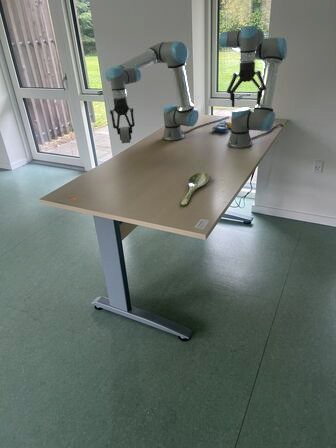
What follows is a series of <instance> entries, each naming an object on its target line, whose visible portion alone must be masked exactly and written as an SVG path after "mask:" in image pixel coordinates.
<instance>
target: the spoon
mask: <svg viewBox="0 0 336 448" xmlns="http://www.w3.org/2000/svg"><path fill="white" fill-rule="evenodd" d="M209 180H210V176H209V174H208V173H206V172H203V171H200V172H199V171H198V172H195V173H194V174H192V175H191V176H189V178H188V180H187V185H188V187H189V188H188V189H189V190H188V192H187V193H186V195H185V196H184V197H183V198H182V200H181V202H180V206H183V207H185V206H187V205H188V203H189V201H190V199H191V197H192V195H193V193H194V191H196V190H197V189H199V188H201V187H203V186H205V185H206V184H207V183H208V182H209Z"/></svg>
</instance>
